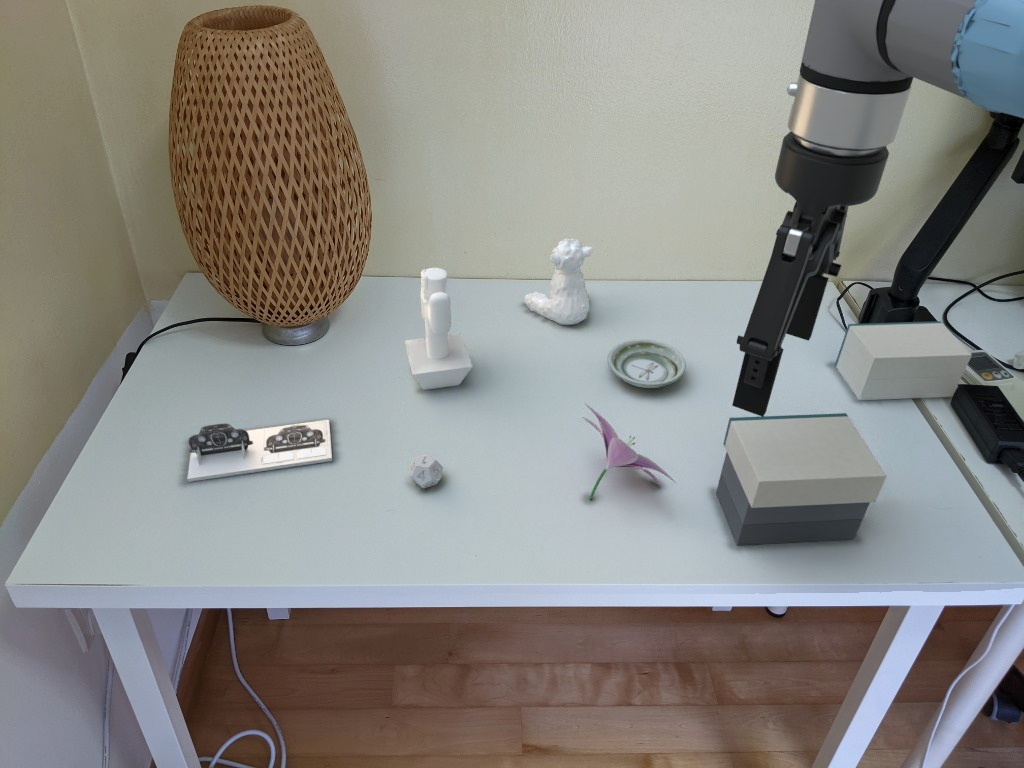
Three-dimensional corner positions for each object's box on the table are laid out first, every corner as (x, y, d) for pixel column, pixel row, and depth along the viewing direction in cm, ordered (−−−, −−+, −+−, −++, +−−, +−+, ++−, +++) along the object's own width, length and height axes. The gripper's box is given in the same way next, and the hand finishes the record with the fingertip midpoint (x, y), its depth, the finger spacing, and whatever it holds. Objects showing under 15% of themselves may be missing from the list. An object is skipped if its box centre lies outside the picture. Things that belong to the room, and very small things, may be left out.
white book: (836, 439, 80) (846, 412, 78) (875, 502, 73) (887, 475, 71) (723, 443, 79) (729, 417, 77) (751, 508, 72) (759, 481, 70)
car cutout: (188, 482, 82) (177, 450, 79) (193, 440, 87) (183, 410, 84) (332, 461, 85) (327, 429, 82) (329, 422, 90) (324, 391, 87)
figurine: (460, 352, 101) (457, 249, 92) (474, 395, 94) (473, 289, 85) (404, 359, 100) (396, 255, 91) (415, 404, 93) (407, 296, 83)
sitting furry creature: (582, 292, 114) (588, 217, 106) (609, 323, 107) (617, 245, 100) (522, 304, 111) (524, 228, 104) (546, 336, 105) (550, 257, 97)
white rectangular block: (923, 362, 101) (940, 321, 97) (952, 397, 95) (972, 354, 92) (834, 365, 100) (848, 323, 96) (858, 400, 95) (874, 358, 91)
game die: (446, 471, 84) (445, 451, 82) (437, 495, 81) (436, 475, 79) (415, 466, 84) (413, 446, 82) (405, 490, 81) (403, 470, 79)
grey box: (825, 487, 83) (841, 446, 79) (854, 539, 77) (872, 497, 73) (715, 492, 82) (726, 451, 78) (736, 545, 76) (749, 503, 72)
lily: (671, 539, 78) (709, 454, 76) (567, 515, 74) (604, 425, 72) (627, 486, 89) (659, 411, 87) (534, 463, 85) (566, 384, 83)
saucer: (616, 347, 103) (618, 331, 101) (689, 362, 100) (692, 347, 99) (597, 388, 96) (598, 373, 94) (675, 406, 93) (677, 391, 92)
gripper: (829, 87, 67) (775, 297, 80) (729, 182, 50) (681, 429, 63) (921, 103, 64) (850, 319, 77) (847, 210, 47) (771, 464, 60)
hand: (773, 369), depth 70 cm, fingers open, 13 cm apart
